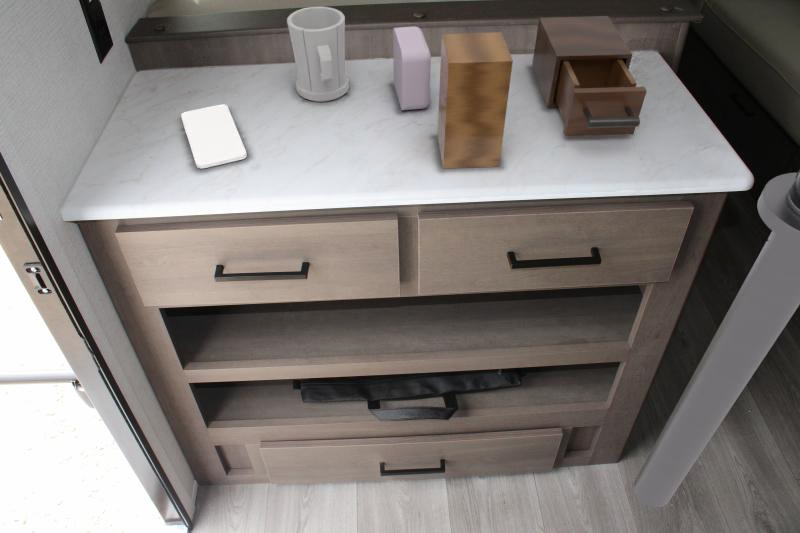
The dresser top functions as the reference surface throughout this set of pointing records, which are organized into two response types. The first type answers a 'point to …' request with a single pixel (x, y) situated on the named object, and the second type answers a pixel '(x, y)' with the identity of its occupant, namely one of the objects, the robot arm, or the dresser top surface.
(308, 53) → the cup
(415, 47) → the electronic device
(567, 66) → the drawer
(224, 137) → the smartphone
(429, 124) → the dresser top surface
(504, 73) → the stand
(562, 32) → the cabinet
